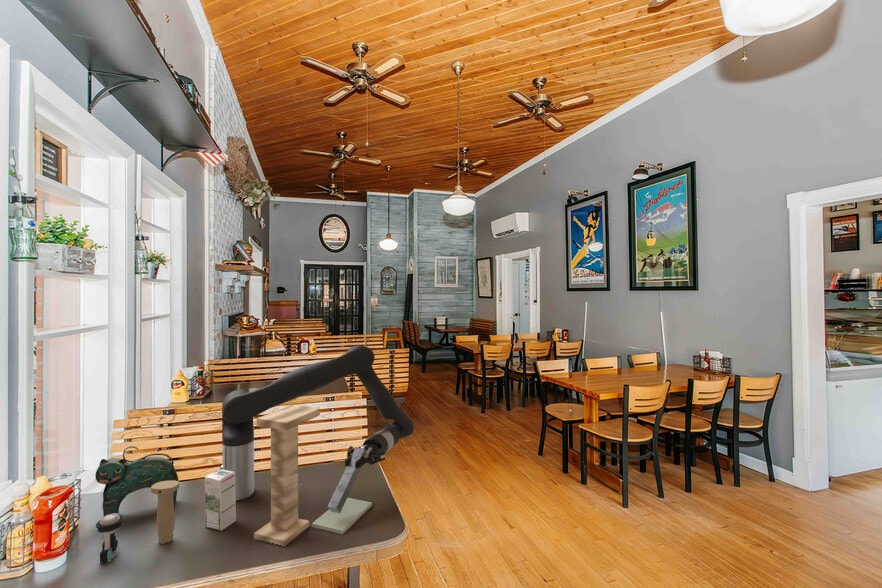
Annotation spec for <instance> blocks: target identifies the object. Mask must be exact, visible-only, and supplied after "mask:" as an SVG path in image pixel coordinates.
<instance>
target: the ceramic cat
mask: <svg viewBox="0 0 882 588" xmlns="http://www.w3.org/2000/svg"><path fill="white" fill-rule="evenodd" d="M131 448H133V449H135V450H139V448H138V447H137V446H135V445H134V446H133V445H131V446H130V445H129V446H127V447H126V448H124V450H123V452H122V458H119V457H111V458H107V459H105V458H102V459H101V460H100V462H99V464H98V465H99V466H98V467H97V469H96V472H95V473H94V474H95V480H96V482H97V483H99V484H100V485H104V489H103V492H102V514H103V517H104V516H106V515H109V514H113V513H117V514H119V513H120V512H119V511H120V510H119V509H120V505H121V503H122V502H123V501H124V500H125V498H126V497H127V496H129V494H131V493H134V492H136V491H140V490H143V489H147V488H150V489H151V486H152V485H154V484H155V483H158V482H162V481H171V480H174V481H179V476H178V472H177V470H176V468H175V466H174V460H173V458H172V457H171V456H170V455H169V454H166V453H150V454H148V455H144V456H143V457H140V458H138V459H134V460H130V459H129V460H128V459H126V457H125V451H126V450H127V449H131ZM162 456H165V457H167V458H165V457H162ZM169 459H170V460H169ZM177 494H178V489H177V490H176V491H174V492H173V504H174V505H176V502H177Z"/></svg>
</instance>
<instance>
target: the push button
mask: <svg viewBox="0 0 882 588" xmlns="http://www.w3.org/2000/svg"><path fill="white" fill-rule="evenodd" d="M123 521H124V516H123V515H120V514H119V513H118V514H117V513H113V514H109V515H106V516H104V517H101V519H99V520H98V522H96V523H95V527H96V529H97V532H98V533H99V534H100V533H101V534H104V540H103V543H102V544H101V545H102V547H101V549H102V550H101V551H100V553H99V563H100V564H102V563H101V562H105V563H109V562H108V561H110V560H111V559H112V558H113V559H114V558H115V556H116V557H117V556H118V555H119V540H118V539H117V535H116V530H118V529H119V528H120V527H121V526H122V524H123ZM115 554H116V555H115ZM114 555H115V556H114ZM113 559H112V560H113ZM112 560H111V561H112Z"/></svg>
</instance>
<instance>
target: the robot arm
mask: <svg viewBox="0 0 882 588" xmlns="http://www.w3.org/2000/svg"><path fill="white" fill-rule="evenodd" d="M375 357H376V356H375V353H374V351H373V349H371V348H370V347H368V346H365V345H353V346H350V347H349V348H348V349H347V350H346V353H344V354H341V355H340V356H337V357H335V358H332V359H328V360H322V361H318V362H315V363H310V364H307V365H305V366H301V367H299V368H296V369H295V370H291V371H289V372H287V373H286V374H284V375H282V376H280V377H279V378H277V379H276V380H274V381H273V382H271V383H270V384H268V385H266V386H264V387H262V388H259V389H255V390H252V391H250V392H248V391H245V390H242V389H237V390H234V391H233V390H232V391H231V392H229V393H228V394H227V395H226V396H224V398H223V401H222V402H221V403H222V404H221V423H222V424H221V434H222V435H221V439H222V441H221V442H222V445H221V446H222V449H221V450H222V465H220V468H219V470H220V469H222V470H227V471H233V472H235V494H236V502H237V501H240V500H244V499H247V498H249V497H251V496H252V495H253V494H254V491H255V430H254V429H255V428H254V418H255V417H257V416H260V415H261V414H262V413H264V412H266V411H268V410H270V409H272V408H275V407H277V406H280V405H283V404H285V403H288V402H290V401H293V400H296V399H298V398H300V397H303V396H306V395H308V394H310V393H313V392H316V391H318V390H319V389H322V388H323V387H327V386H328V385H331V384H332V383H334V382H336V381H337V380H340V379H342V378H345V377H348V376H351V375H355V376H356V377H357V378H358V379H359V381H360V383H361V384H362V385H363V387H364V388H365V390H366V392H367V393H368V395H369V397H370V398H371V400H372V403H374V406H375V407H376V409H377V411H378V412H379V414H380V416H381V417H382V419H383V420H393V421H391V422H388V423H387V424H386V425H385V426H384V428H382V429H380V430H379V431H377V432H375V433H374V434H372V435H370V436H369V437H368V438H366V439H365V440H364V441H363V444H362V445H360V446H358V447H357V448H364V449H365V450H366V454H365V455H364V456H363V457H361V458H360V459H358V460H357V461H356V462H355V468H356V469H358V468H359V467H361V466H362V467H363V466H364V465H365V466H366V465H367V464H369V465H370V466H371V465H375V464H377V463H380V462H383V461H385V460H386V454H387V453H388V452H389V451H390V450H391V449H393V447H394V446H396V444H398V442H399V440H402V439H404V438H406V437H410V436H411V435H412V434H413V433H414V430H415V426H414V422H413V420H412V419H411V418H410V416H409V415H407V414H406V413H405V412H404V410H402V409H401V408H400V407H399V406H398V404H397V402H396V400H395V399H394V396H393V395H392V394H391V392H390V390H389V389H388V387H386V385H385V384H384V383H383V382H382V380H381V379H380V377H379V376H378V374H377V373H376V371H375V370H374V367H373V365H374V362H375ZM355 449H356V448H354V445H353V446H352V445H350V446H349V447H348V449H347V452H346V454H347V455H346V458H345V459H344V465H345V468H346V467H347V466H348V464H349V462H350V460H351V458H352V455H353V453H354V451H355ZM362 467H361V468H362Z"/></svg>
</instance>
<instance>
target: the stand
mask: <svg viewBox="0 0 882 588" xmlns="http://www.w3.org/2000/svg"><path fill="white" fill-rule="evenodd" d="M319 416H321V408H319V407H311V406H305V405H304V406H303V405H295V404H291V405H288V406H286V407H282V408H280V409H278V410H276V411H273V412H272V411H271V412H270V413H267V414H265V415H262V416H259V417H257V418H256V427H262V428H267V429H270V521H269V522H267V523H265V525H263V526H262V527H260V528H259V529H258V530H256V531H255V532H253V539H254V540H258V541H261V542H266V543H268V542H269V544H272V543H274V544H273V545H276V544H278V545H277V546H279V545H281V547H283V548H284V547H286V546H287V545H288V544H290V543H291V542H292V541H293V540H294V539H296V538H297V537H298V536H300V534H302V533H303V532H304V531H305V530H306V529H308V528H309V527H310V521H309V520H307V519H304V518H303V519H302V518H299V426H300V425H301V424H303V423H306V422H308V421H310V420H312V419H316V418H318V417H319Z"/></svg>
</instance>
